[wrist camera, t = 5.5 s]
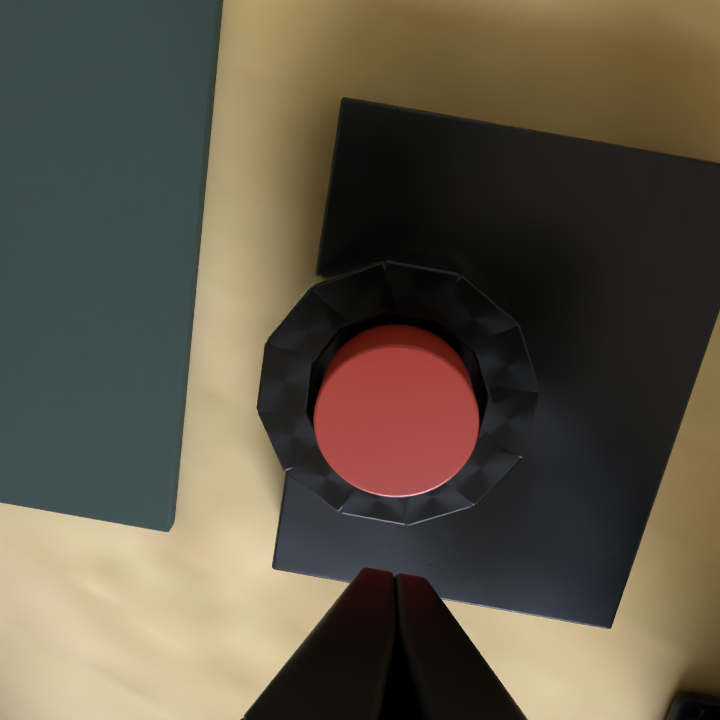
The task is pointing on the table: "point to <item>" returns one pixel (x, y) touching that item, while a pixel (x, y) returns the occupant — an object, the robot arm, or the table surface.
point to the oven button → (396, 411)
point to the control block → (503, 351)
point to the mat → (100, 248)
